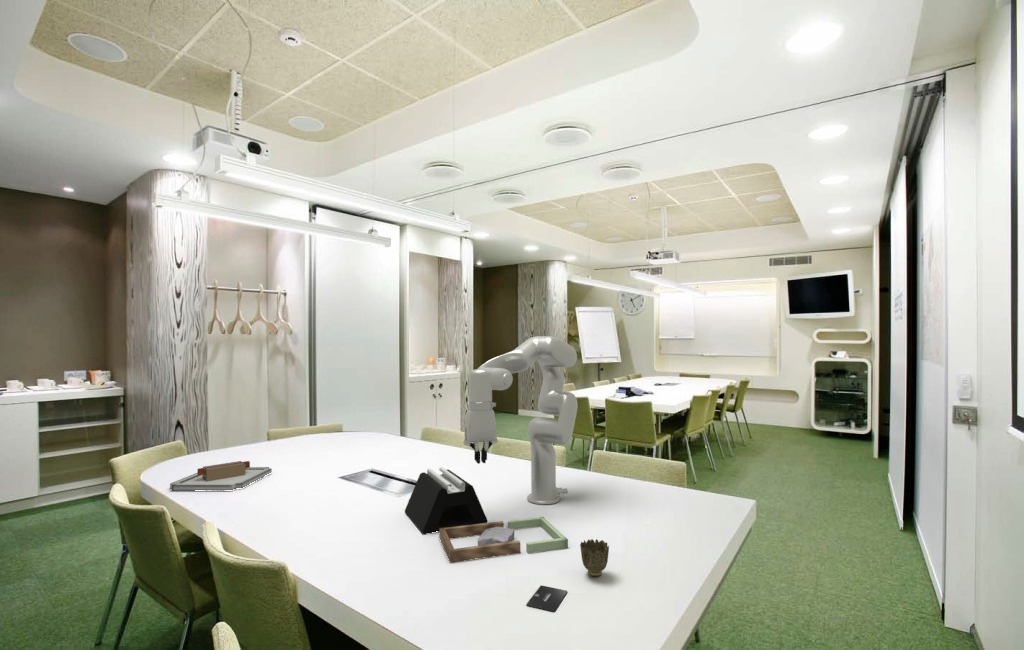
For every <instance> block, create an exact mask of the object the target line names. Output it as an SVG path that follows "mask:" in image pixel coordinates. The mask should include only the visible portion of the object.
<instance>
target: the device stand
mask: <svg viewBox="0 0 1024 650" xmlns="http://www.w3.org/2000/svg"><path fill="white" fill-rule="evenodd" d="M438 469H439V470H438V471H440V472H441V473H442V474H438V473H437V472H436V471H434V470H433V469H432V468H429V467H428V468H427V471H426V472H427V473H426V472H424V471H423V472H421V473H420V474H419V475H418V478H417V480H416V483H415V485H414V487H413V490H412V492H411V495H410V496H409V499H408V502H407V504H406V506H405V509H404V513H405V514H406V515H407V517H408V516H409V519H410V521H412V523H413V524H414V525H415V526H416V527H418V528H417V529H418V530H419V531H420V532H421V533H422V535H423V534H424V535H427V534H426V533H430V534H433V533H432V532H436V531H439V528H447V527H456V526H464V525H473V524H481V523H489V522H488V521H489V520H488V519H487V515H486V514H485V511H484V509H483V507H482V504H481V502H480V499H479V497H478V495H477V492H476V490H475V488H474V486H473V485H472V484H470V483H469V482H467V481H466V480H464V479H463V478H462V477H460V476H459V475H458V474H456V473H455V472H454V471H451V470H450V469H446V468H444V467H443V466H440V467H439V468H438ZM436 533H437V532H436Z"/></svg>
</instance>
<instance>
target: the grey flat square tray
mask: <svg viewBox="0 0 1024 650" xmlns="http://www.w3.org/2000/svg"><path fill="white" fill-rule="evenodd" d="M271 472H272V468H271V467H269V466H251V461H249V460H246V461H241V460H237V461H231V462H225V463H220V464H211V465H205V466H202V467H200V468H197V472H194V473H193V474H191V475H187V476H185V477H183V478H181V479H179V480H178V479H177V480H176V481H173V482H170V484H169V485H170V486H169V490H170V489H172V490H171V492H196V491H195V490H233V489H235V488H243V487H245V486H247V485H249V484H250V483H252V482H254V481H256V480H258V479H260V478H262V477H264V476H265V475H267V474H269V473H271ZM272 473H273V472H272ZM249 486H250V485H249ZM247 487H248V486H247ZM245 488H246V487H245Z"/></svg>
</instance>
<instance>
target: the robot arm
mask: <svg viewBox="0 0 1024 650" xmlns="http://www.w3.org/2000/svg"><path fill="white" fill-rule="evenodd" d="M577 359H578V354H577V351H576V348H575V347H573V346H572V345H571V344H569V343H567V342H566V341H564V340H562V339H561V338H558V337H556V336H552V335H544V336H543V335H541V336H540V335H539V336H531V337H529V338H528V339H527V340H525V341H524V342H523V343H521V344H520V345H518V346H517V347H516V348H514V349H513V350H511V351H508V352H506V353H504V354H501V355H498V356H496V357H492V358H491V359H489V360H487V361H486V362H484V363H483V364H481V365H480V366H478V368H477V369H472V370H471V371H470V372H469V377H468V379H469V383H468V385H469V387H468V389H469V395H468V396H469V399H468V401H469V408H468V409H469V410H466V414H465V420H464V421H465V422H464V440H463V443H462V444H463V445H464V446H468V447H470V448H472V449H473V451H474V461H475V462H476V463H477V464H478V465H479V464H481V462H482V464H486V461H487V460H488V451H489V450H490V448H491V446H493V445H495V444H498V442H499V440H498V438H497V424H496V415H495V411H494V410H493V408H494V407H495V408H496V407H497V402H494V401H493V391H505V390H507V389H509V388H510V387H511V386H512V384H513V381H514V378H513V374H516V373H521V372H524V371H526V370H527V369H529V368H530V367H532V366H533V364H535V363H536V362H537V363H538V365H539V368H540V369H541V372H542V376H543V377H542V384H541V389H540V392H539V393H540V394H539V396H538V401H537V402H538V403H537V408H538V411H539V412H540V413H541V414H544V415H549V416H557V417H558V418H555V417H554V418H553V417H548V416H547V417H545V416H536V417H533V418H532V419H531V420H530V422H529V424H528V432H527V433H528V436H529V442H530V463H531V464H530V468H531V469H530V478H531V479H530V481H531V482H530V484H531V485H530V486H531V488H530V489H531V493H529V494H528V495H527V501H528V502H529V503H531V504H535V505H554V504H557V503H558V502H560V500H561V497H560V495H564V494H565V495H566V494H568V492H569V490H568V488H562V487H557V483H556V482H557V481H556V480H557V478H556V477H557V476H556V475H557V473H556V472H557V470H556V469H557V468H556V467H557V466H556V465H557V464H556V457H557V455H556V450H555V447H554V445H559V446H564V445H567V444H569V443H570V441H571V439H572V436H573V433H574V429H575V423H576V418H577V414H578V406H579V405H578V404H579V403H578V399H577V397H576V395H575V394H574V393H573V392H570V391H564V387H565V386H564V385H565V378H564V376H563V374H562V371H561V370H560V368H571V367H574V366H575V365H576V362H577ZM481 442H482V448H481V451H480V448H479V443H481Z"/></svg>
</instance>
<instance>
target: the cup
mask: <svg viewBox="0 0 1024 650" xmlns="http://www.w3.org/2000/svg"><path fill="white" fill-rule="evenodd" d="M579 545H580V546H579V547H580V552H581V561H582V565H583V567H584V568H585V569H586V570H587V574H588V576H589V577H591V578H594V579H596V578H600V577H601V576H602V575H603V571H604V570H605V569H606V568H607V565H608V559H609V550H610V545H608V542H606V541H604V540H600V541H599V539H595V540H594V539H592V538H591V539H589V538H588V539H587V541H586V540H585V539H584V540H583V541H580V544H579Z"/></svg>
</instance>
